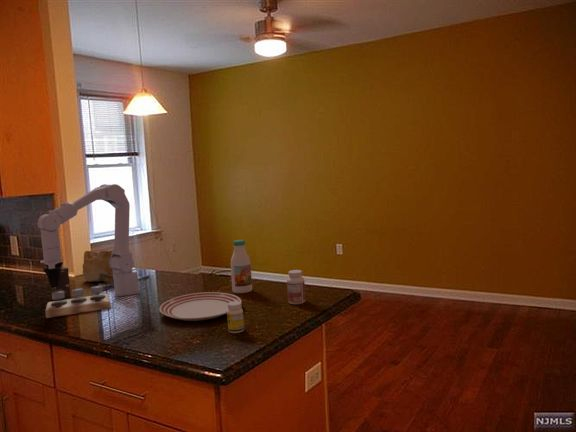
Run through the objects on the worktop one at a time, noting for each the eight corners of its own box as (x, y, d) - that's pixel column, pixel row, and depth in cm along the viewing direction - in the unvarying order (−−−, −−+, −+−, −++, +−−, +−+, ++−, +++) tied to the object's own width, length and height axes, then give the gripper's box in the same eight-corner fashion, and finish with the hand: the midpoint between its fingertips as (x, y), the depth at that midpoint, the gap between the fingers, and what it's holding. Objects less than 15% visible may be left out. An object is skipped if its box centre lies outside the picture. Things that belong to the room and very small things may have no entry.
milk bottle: (228, 293, 182) (225, 242, 180) (238, 287, 189) (235, 238, 187) (246, 294, 179) (243, 242, 177) (255, 289, 186) (252, 238, 184)
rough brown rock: (141, 281, 213) (140, 248, 212) (106, 287, 200) (105, 251, 199) (113, 277, 227) (112, 246, 227) (79, 282, 214) (78, 249, 214)
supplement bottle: (228, 328, 143) (226, 301, 142) (244, 327, 143) (242, 300, 142) (228, 334, 138) (226, 306, 137) (244, 332, 138) (242, 304, 137)
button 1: (64, 295, 173) (64, 290, 173) (64, 298, 169) (63, 293, 169) (52, 297, 171) (52, 292, 171) (52, 300, 168) (51, 294, 167)
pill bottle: (296, 298, 170) (295, 268, 169) (309, 301, 166) (307, 270, 164) (284, 302, 166) (282, 271, 165) (296, 306, 161) (295, 274, 160)
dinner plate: (258, 309, 161) (257, 299, 160) (190, 332, 141) (189, 322, 141) (210, 296, 180) (209, 287, 180) (144, 315, 161) (143, 305, 160)
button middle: (84, 293, 175) (83, 287, 175) (84, 295, 172) (83, 290, 171) (72, 294, 174) (71, 289, 174) (72, 297, 170) (71, 292, 170)
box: (54, 300, 185) (51, 270, 183) (53, 298, 188) (50, 268, 187) (71, 297, 188) (68, 268, 187) (69, 295, 192) (66, 266, 190)
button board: (109, 299, 182) (108, 292, 182) (110, 307, 171) (110, 299, 171) (48, 308, 174) (47, 300, 173) (46, 318, 163) (45, 309, 162)
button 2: (102, 290, 178) (102, 285, 178) (103, 292, 174) (102, 287, 174) (91, 292, 176) (90, 286, 176) (91, 294, 173) (90, 289, 172)
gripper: (40, 246, 174) (45, 282, 176) (36, 252, 161) (41, 291, 162) (62, 243, 177) (65, 279, 178) (59, 249, 164) (63, 287, 165)
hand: (55, 284), depth 171 cm, fingers open, 7 cm apart
